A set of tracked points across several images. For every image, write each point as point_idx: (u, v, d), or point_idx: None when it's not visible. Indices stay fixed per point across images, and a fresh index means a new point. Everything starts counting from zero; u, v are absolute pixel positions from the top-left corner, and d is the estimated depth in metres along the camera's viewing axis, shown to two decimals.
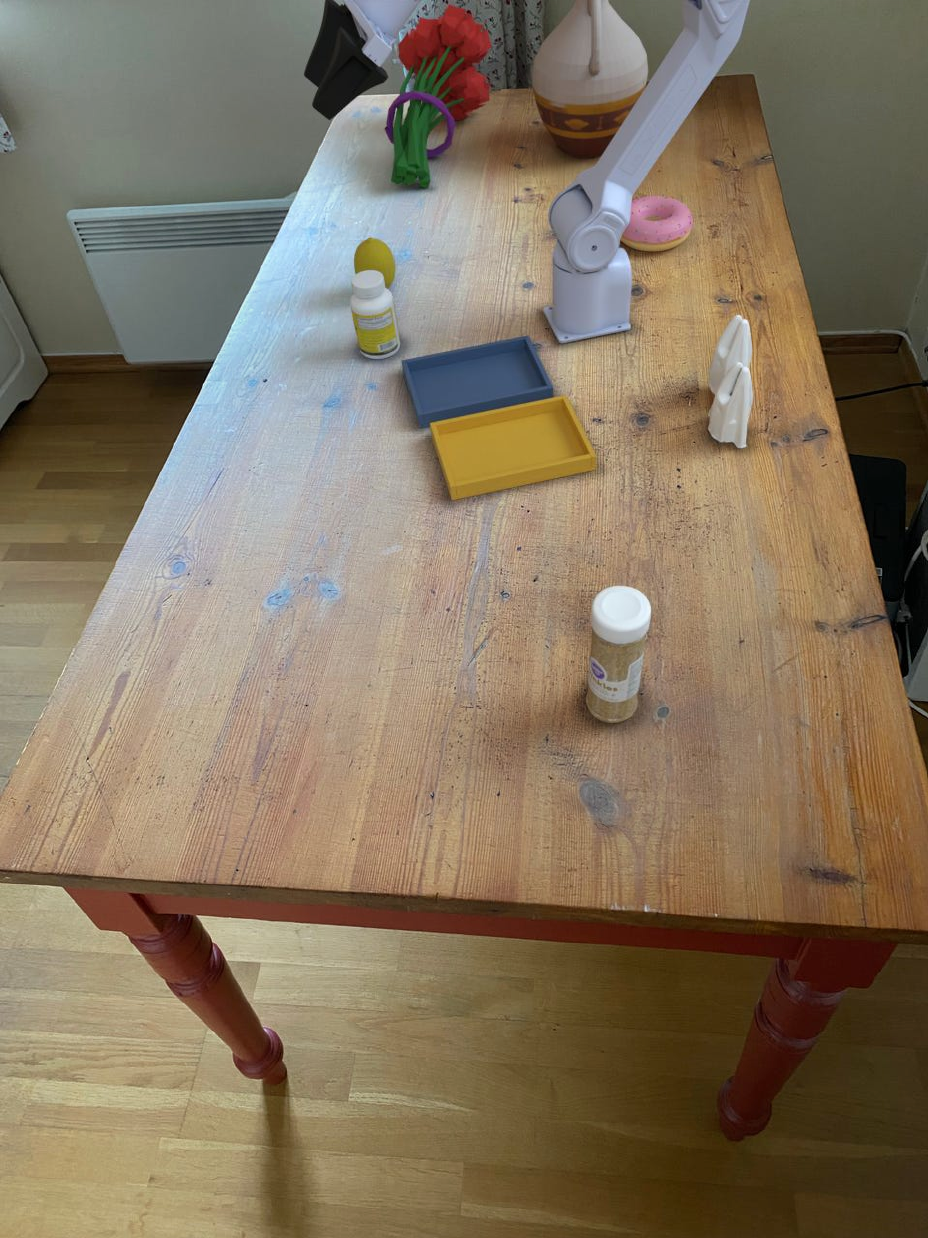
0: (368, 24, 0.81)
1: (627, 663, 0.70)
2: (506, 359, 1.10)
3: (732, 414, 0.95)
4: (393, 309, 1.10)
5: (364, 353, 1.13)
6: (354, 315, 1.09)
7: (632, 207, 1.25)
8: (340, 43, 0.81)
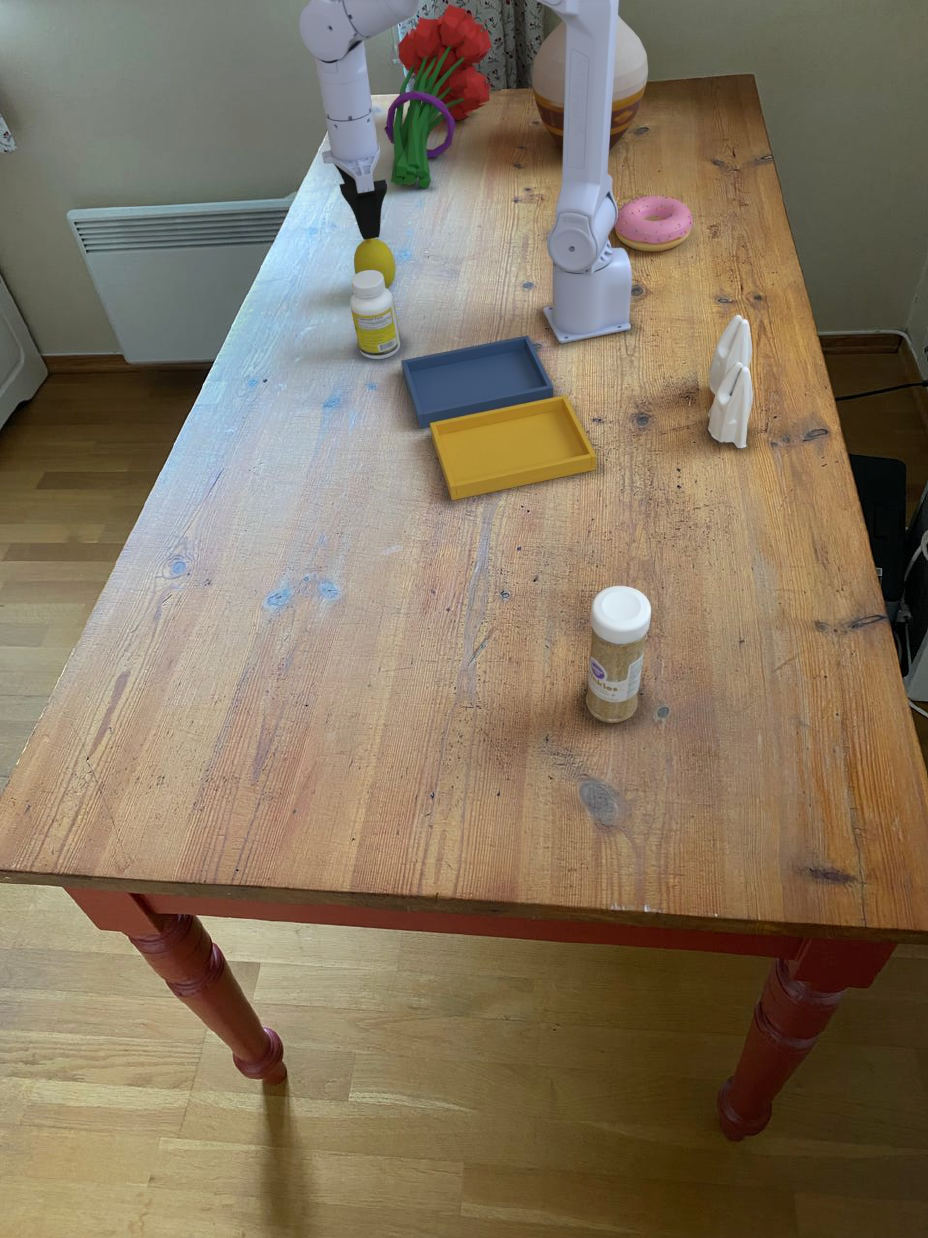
0: (350, 171, 1.05)
1: (627, 663, 0.70)
2: (506, 359, 1.10)
3: (732, 414, 0.95)
4: (393, 309, 1.10)
5: (364, 353, 1.13)
6: (354, 315, 1.09)
7: (632, 207, 1.25)
8: (344, 197, 1.07)
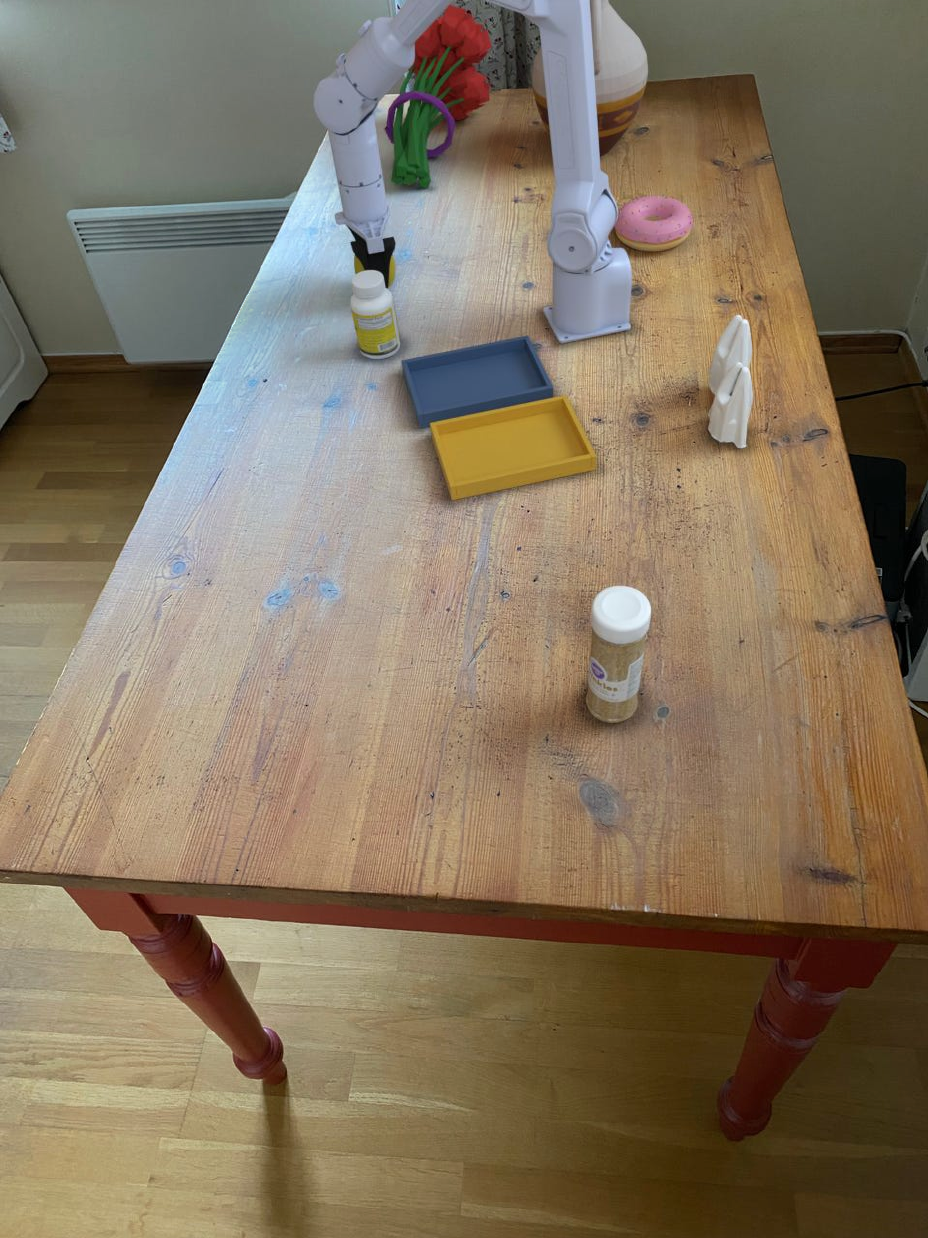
0: (361, 233, 1.11)
1: (627, 663, 0.70)
2: (506, 359, 1.10)
3: (732, 414, 0.95)
4: (393, 309, 1.10)
5: (364, 353, 1.13)
6: (354, 315, 1.09)
7: (632, 207, 1.25)
8: (355, 254, 1.13)
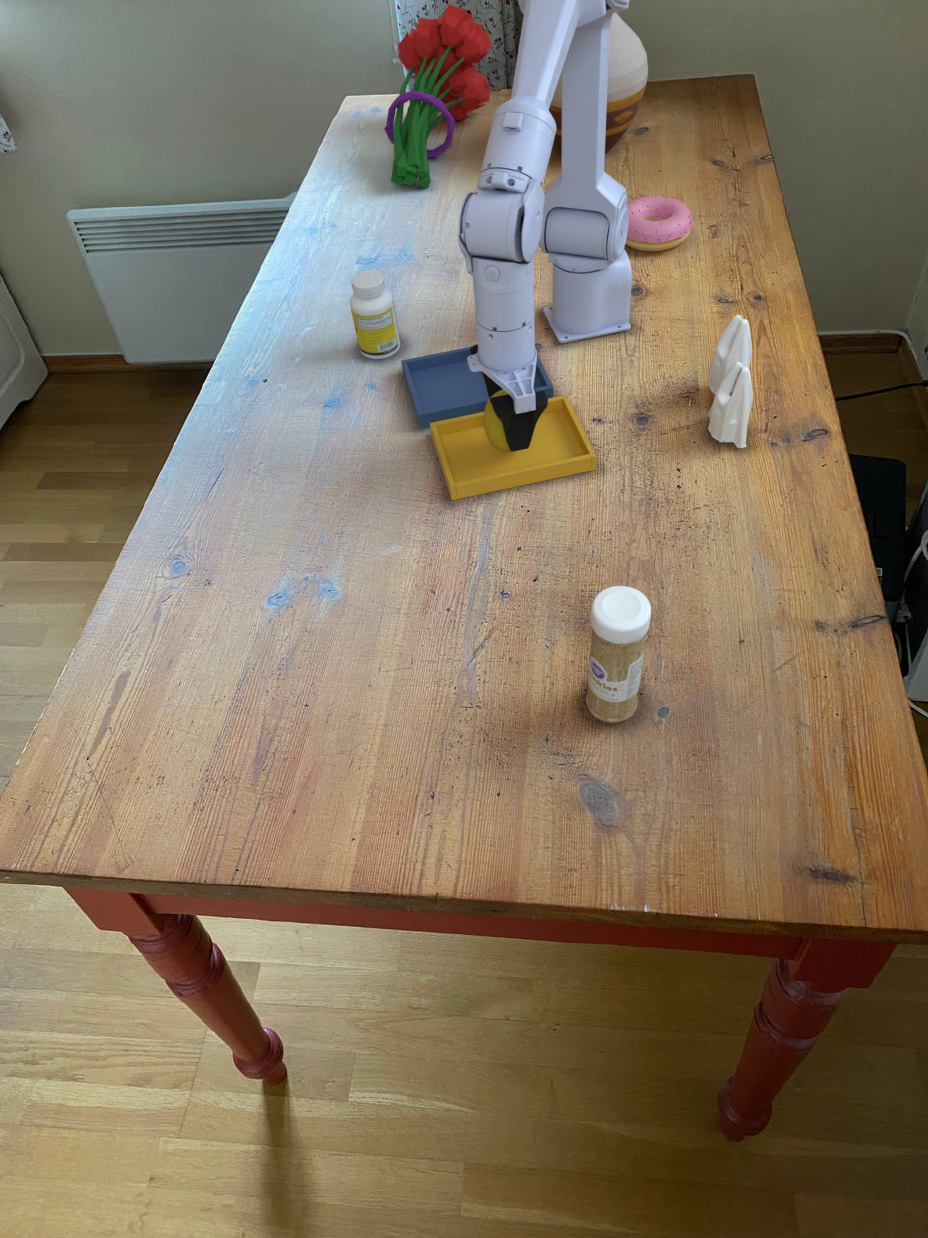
0: (507, 387, 0.87)
1: (627, 663, 0.70)
2: None
3: (732, 414, 0.95)
4: (393, 309, 1.10)
5: (364, 353, 1.13)
6: (354, 315, 1.09)
7: (632, 207, 1.25)
8: (497, 415, 0.89)
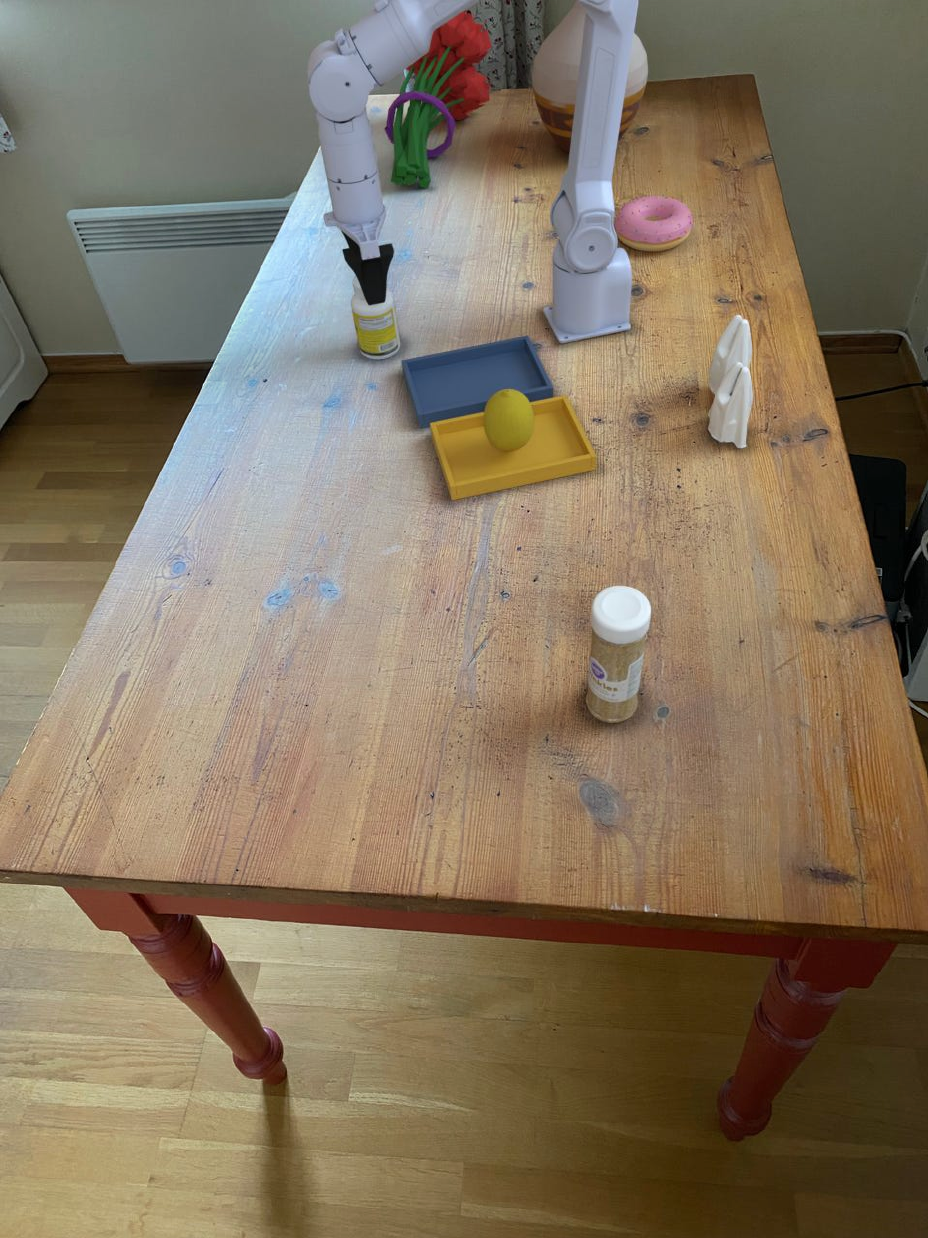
0: (354, 236, 0.97)
1: (627, 663, 0.70)
2: (506, 359, 1.10)
3: (732, 414, 0.95)
4: (394, 310, 1.10)
5: (364, 353, 1.13)
6: (355, 315, 1.09)
7: (632, 207, 1.25)
8: (348, 263, 0.99)
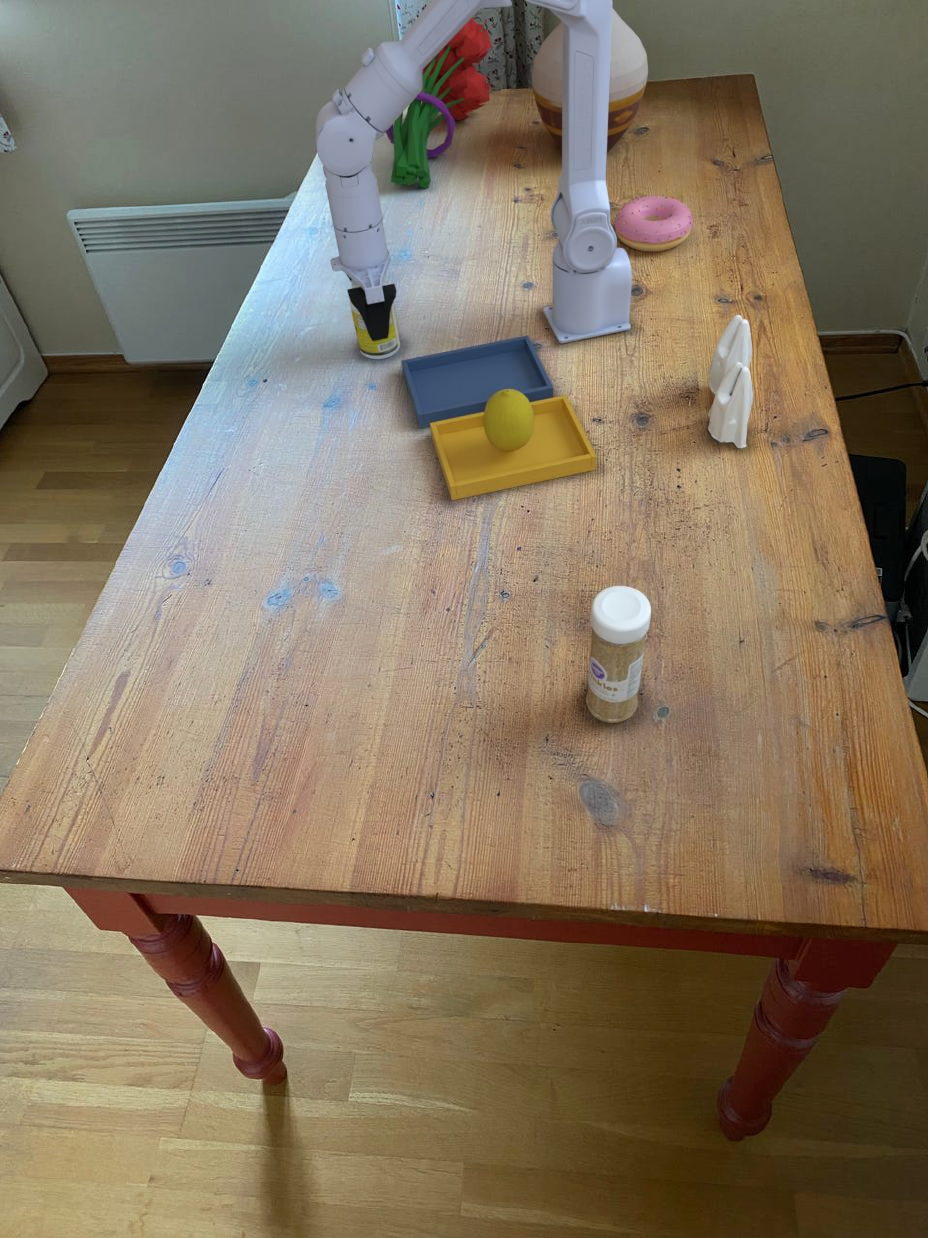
0: (359, 281, 1.02)
1: (627, 663, 0.70)
2: (506, 359, 1.10)
3: (732, 414, 0.95)
4: (393, 309, 1.10)
5: (364, 353, 1.13)
6: (354, 315, 1.09)
7: (632, 207, 1.25)
8: (352, 303, 1.04)
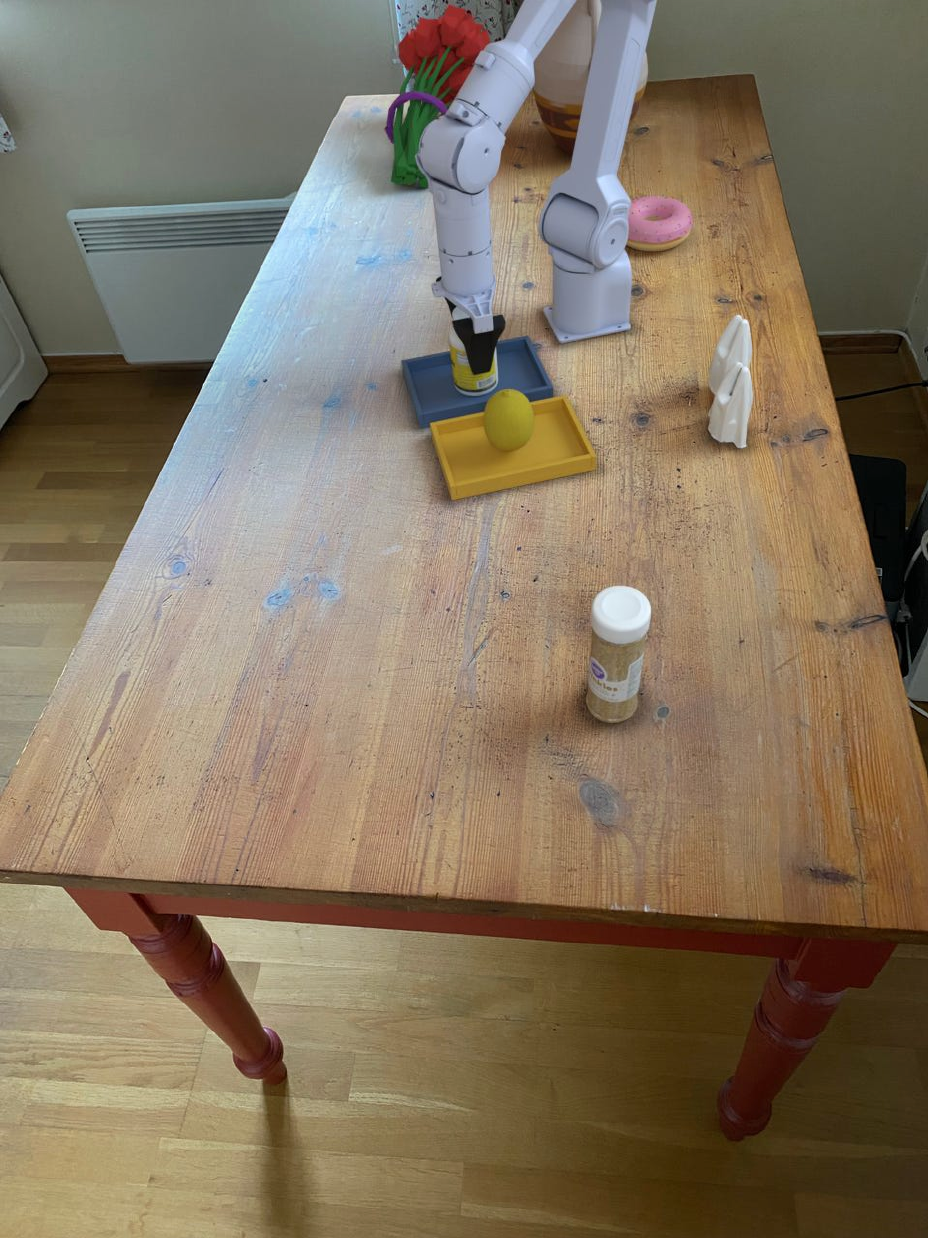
0: (466, 309, 0.94)
1: (627, 663, 0.70)
2: (506, 359, 1.10)
3: (732, 414, 0.95)
4: None
5: (460, 390, 1.06)
6: (453, 350, 1.02)
7: (632, 207, 1.25)
8: (458, 336, 0.96)
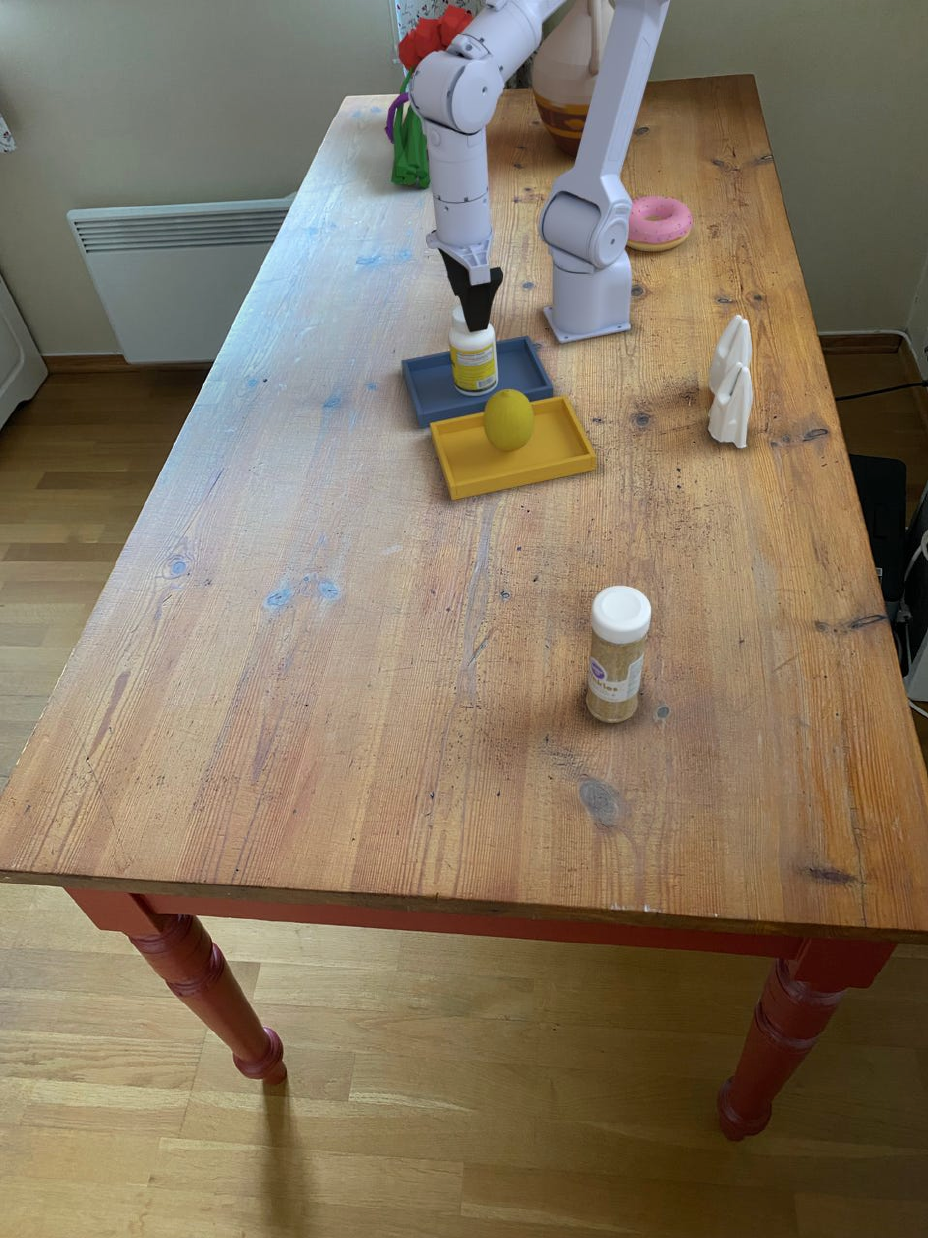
0: (462, 259, 0.90)
1: (627, 663, 0.70)
2: (506, 359, 1.10)
3: (732, 414, 0.95)
4: (494, 344, 1.03)
5: (460, 390, 1.06)
6: (453, 350, 1.02)
7: (632, 207, 1.25)
8: (454, 289, 0.91)
